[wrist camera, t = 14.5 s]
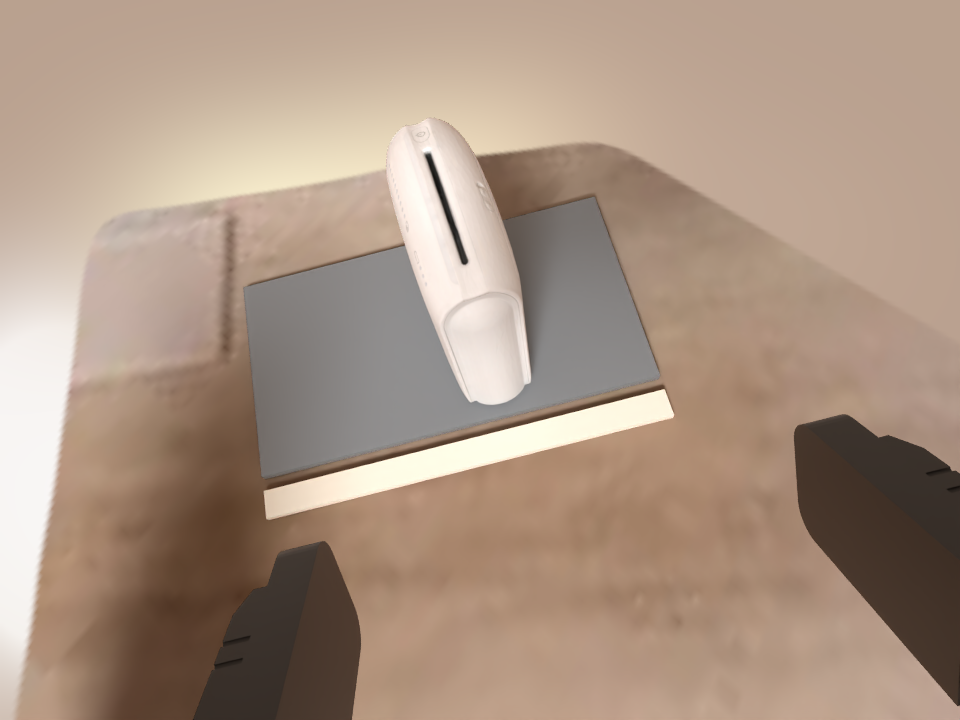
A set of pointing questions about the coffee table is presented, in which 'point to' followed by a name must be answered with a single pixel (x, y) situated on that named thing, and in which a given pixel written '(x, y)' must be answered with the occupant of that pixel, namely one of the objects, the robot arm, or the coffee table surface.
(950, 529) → the robot arm
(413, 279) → the mat
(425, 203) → the photo printer
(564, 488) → the coffee table surface
